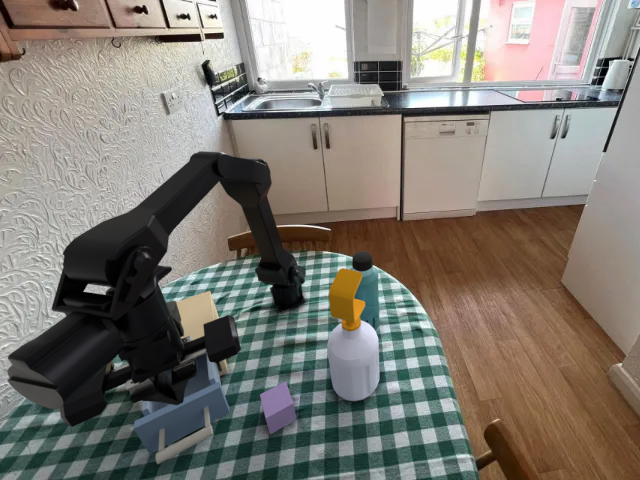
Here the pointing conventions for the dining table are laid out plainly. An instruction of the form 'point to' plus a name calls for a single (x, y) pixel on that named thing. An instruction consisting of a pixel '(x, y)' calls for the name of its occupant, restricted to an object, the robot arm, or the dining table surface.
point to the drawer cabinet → (199, 318)
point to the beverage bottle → (367, 287)
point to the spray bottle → (351, 341)
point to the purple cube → (278, 407)
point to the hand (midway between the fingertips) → (180, 401)
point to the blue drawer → (184, 413)
